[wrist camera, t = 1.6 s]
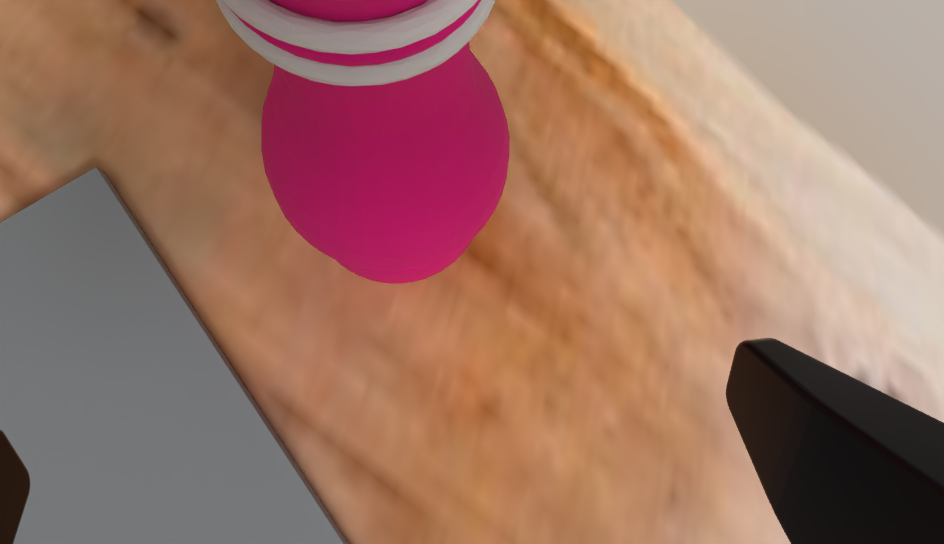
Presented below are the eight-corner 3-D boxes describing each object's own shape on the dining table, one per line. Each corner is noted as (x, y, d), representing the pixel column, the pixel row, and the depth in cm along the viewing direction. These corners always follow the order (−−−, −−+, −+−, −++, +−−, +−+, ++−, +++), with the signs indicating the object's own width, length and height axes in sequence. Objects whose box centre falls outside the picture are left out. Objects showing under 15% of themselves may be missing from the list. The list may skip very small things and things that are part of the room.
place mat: (426, 661, 19) (426, 669, 18) (2, 1021, 16) (-14, 1044, 16) (104, 173, 22) (95, 167, 21) (-298, 409, 19) (-320, 408, 19)
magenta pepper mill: (263, 169, 22) (-847, -1460, 3) (430, 82, 24) (424, -1452, 4) (360, 335, 21) (-435, -573, 2) (531, 234, 22) (1166, -937, 3)
